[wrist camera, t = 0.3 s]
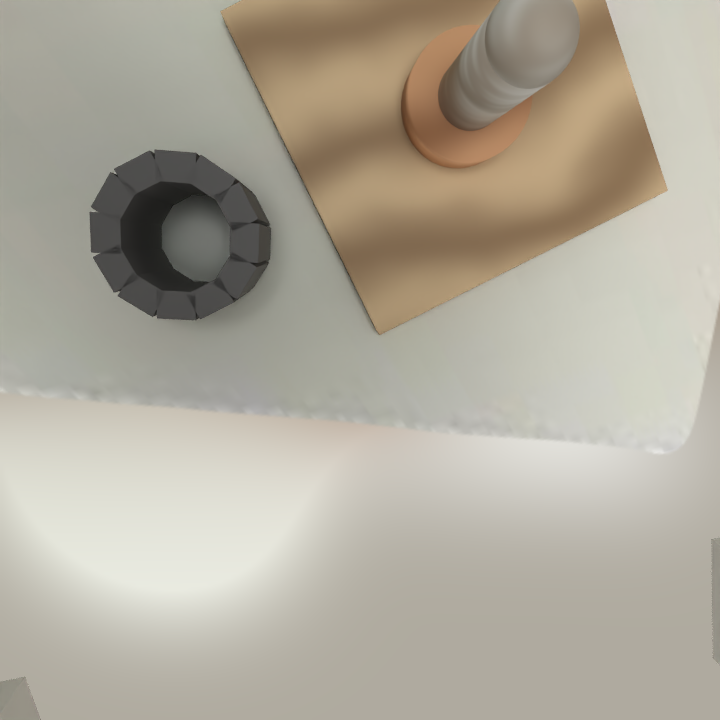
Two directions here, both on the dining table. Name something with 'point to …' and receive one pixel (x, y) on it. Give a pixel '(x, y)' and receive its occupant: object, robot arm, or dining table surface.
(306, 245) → the dining table surface
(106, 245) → the rubber collar
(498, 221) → the post stand
